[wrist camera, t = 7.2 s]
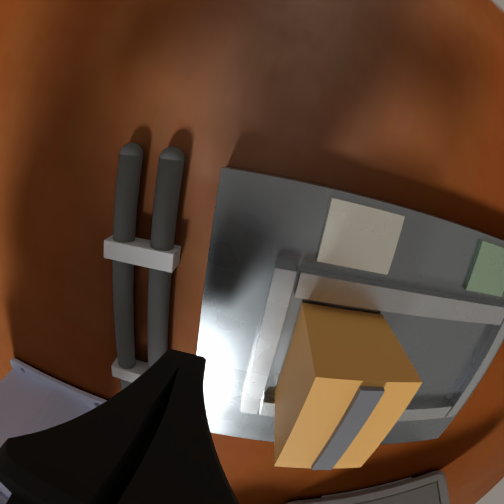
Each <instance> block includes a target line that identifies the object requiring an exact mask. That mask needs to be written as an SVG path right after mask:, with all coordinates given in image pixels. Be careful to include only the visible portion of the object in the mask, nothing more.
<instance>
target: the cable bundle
mask: <svg viewBox="0 0 504 504" xmlns="http://www.w3.org/2000/svg"><path fill="white" fill-rule="evenodd" d="M142 160H143V150H142V148H141V146H140V145H138V144H136V143H128V144H126V145H124V146H123V147H122V149H121V150H120V154H119V162H118V171H117V181H116V192H115V206H114V223H113V235H112V236H110V237H108V238H107V239H105V240H104V258H107V259H111V260H113V306H114V324H115V338H116V349H117V358H116V359H115V361H114V362H113V364H112V365H111V368H112V375H113V377H116V378H119V379H120V383H121V390H123V389H124V388H126V387H127V386H128V385H130V384H131V383H132V382H133V381H135V380H136V379H137V378H138V377H139V376H140V375H142V374H143V373H144V372H145V371H146V370H147V369H149V368H150V367H151V366H152V365H153V364H154V363H155V362H156V361H157V360H158V359H159V358H160V357H161V356H162V355H163V354H164V353H165V352H166V351H167V347H168V321H169V302H170V287H171V274H172V272H173V271H174V270H175V268H176V267H177V266H178V264H179V262H180V252H181V246H178V245H174V240H175V230H176V221H177V213H178V204H179V196H180V189H181V181H182V174H183V168H184V161H185V157H184V153H183V152H182V150H181V149H179V148H177V147H168V148H166V149H164V150H163V151H162V152H161V154H160V157H159V164H158V171H157V179H156V188H155V197H154V206H153V216H152V228H151V240H147V239H142V238H137V237H135V234H136V219H137V206H138V195H139V185H140V176H141V168H142ZM134 265H138V266H142V267H147V268H149V276H148V316H147V336H148V363H147V362H143V361H140V360H136V359H135V340H134Z"/></svg>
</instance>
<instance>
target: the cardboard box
mask: <svg viewBox="0 0 504 504" xmlns="http://www.w3.org/2000/svg"><path fill="white" fill-rule="evenodd" d="M421 384H422V381H421V379H420V377H419V375H418V374H417V372H416V370H415V368H414V366H413V365H412V363H411V361H410V360H409V358H408V356H407V354H406V353H405V351H404V349H403V348H402V346H401V344H400V342H399V341H398V339H397V337H396V336H395V334H394V333H393V331H392V329H391V328H390V326H389V324H388V323H387V321H386V320H385V318H384V316H383V315H382V314H375V313H368V312H361V311H354V310H347V309H341V308H334V307H328V306H322V305H316V304H309V303H303V302H302V304H301V307H300V311H299V314H298V318H297V321H296V325H295V328H294V331H293V335H292V338H291V341H290V345H289V348H288V351H287V354H286V357H285V361H284V364H283V367H282V370H281V373H280V376H279V379H278V382H277V385H276V388H275V427H274V466H279V467H294V468H311V469H312V470H332V468H360V467H361V466H362V465H363V464H364V463H365V462H366V460H367V459H368V458H369V457H370V456H371V454H372V453H373V452H374V451H375V450H376V448H377V447H378V446H379V445H380V443H381V442H382V441H383V439H384V438H385V437H386V435H387V434H388V433H389V431H390V430H391V429H392V427H393V426H394V425H395V423H396V422H397V420H398V419H399V418H400V416H401V415H402V413H403V412H404V410H405V409H406V407H407V406H408V404H409V403H410V401H411V400H412V398H413V397H414V395H415V394H416V392H417V390H418V389H419V387H420V386H421Z"/></svg>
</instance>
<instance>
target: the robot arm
mask: <svg viewBox="0 0 504 504" xmlns="http://www.w3.org/2000/svg"><path fill="white" fill-rule="evenodd" d="M10 362H11V366H12V368H13V369H12V370H11V371H10V372H9V373H8V374H7V375H6V376H5V377H4V378H3V379H2V380H1V382H0V504H239V502H238V500H237V498H236V497H235V495H234V493H233V491H232V489H231V487H230V485H229V483H228V480H227V478H226V476H225V473H224V471H223V469H222V466H221V464H220V461H219V459H218V456H217V453H216V450H215V447H214V443H213V440H212V437H211V433H210V429H209V424H208V419H207V414H206V408H205V400H204V389H203V383H204V375H205V367H206V359H205V358H204V357H203V356H198V355H194V354H189V353H185V352H181V351H177V350H172V349H169V350H167V351H166V352H165V353H164V354H163V355H162V356H161V357H160V358H159V359H158V360H157V361H156V362H155V363H154V364H153V365H152V366H151V367H150V368H149V369H147V370H146V371H145V372H144V373H143V374H142V375H140V376H139V377H138V378H137V379H136V380H135V381H133V382H132V383H131V384H130V385H128V386H127V387H126V388H124V389H123V390H121V391H120V392H119V393H117V394H116V395H115V396H113V397H112V398H110V399H109V400H105V399H102V398H100V397H97V396H95V395H92V394H90V393H87V392H85V391H82V390H80V389H77V388H75V387H73V386H70V385H68V384H66V383H64V382H61V381H59V380H57V379H55V378H53V377H51V376H49V375H47V374H44V373H42V372H40V371H38V370H36V369H35V368H33V367H31V366H29V365H27V364H25V363H23V362H21V361H20V360H18V359H16V358H12V359H11V360H10Z"/></svg>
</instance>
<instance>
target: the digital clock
mask: <svg viewBox="0 0 504 504" xmlns="http://www.w3.org/2000/svg"><path fill="white" fill-rule="evenodd" d="M286 504H450V502H449V494H448V488H447V482H446V477H445V474H444V472H443V471H440V470H438V471H433V472H430V473H427V474H424V475H421V476H418V477H415V478H412V477H408V478H405V479H402V480H398V481H394V482H391V483H387V484H383V485H379V486H374V487H370V488H365V489H361V490H355V491H350V492H344V493H338V494H332V495H324V496H322V498H317V499H307V500H297V501H291V502H288V503H286Z"/></svg>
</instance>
